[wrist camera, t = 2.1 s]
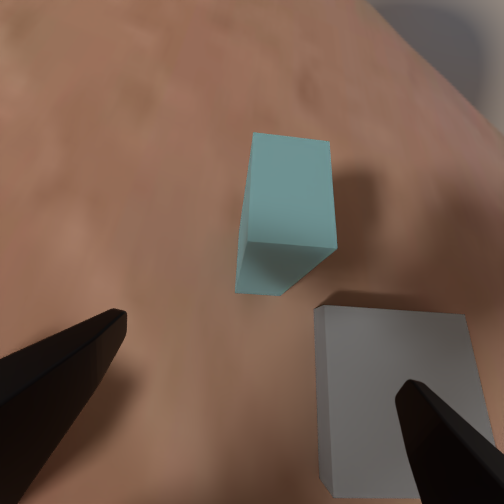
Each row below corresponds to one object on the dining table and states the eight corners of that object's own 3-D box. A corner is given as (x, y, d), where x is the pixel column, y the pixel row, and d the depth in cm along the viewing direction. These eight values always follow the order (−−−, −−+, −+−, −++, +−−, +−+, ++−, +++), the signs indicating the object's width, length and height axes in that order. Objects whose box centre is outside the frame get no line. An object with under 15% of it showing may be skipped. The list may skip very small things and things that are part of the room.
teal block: (235, 293, 22) (247, 241, 11) (239, 230, 24) (253, 132, 13) (280, 295, 22) (337, 248, 11) (280, 234, 24) (329, 141, 13)
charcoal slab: (316, 474, 19) (333, 498, 16) (311, 309, 23) (324, 304, 20) (467, 476, 20) (507, 498, 17) (436, 317, 24) (464, 314, 21)
